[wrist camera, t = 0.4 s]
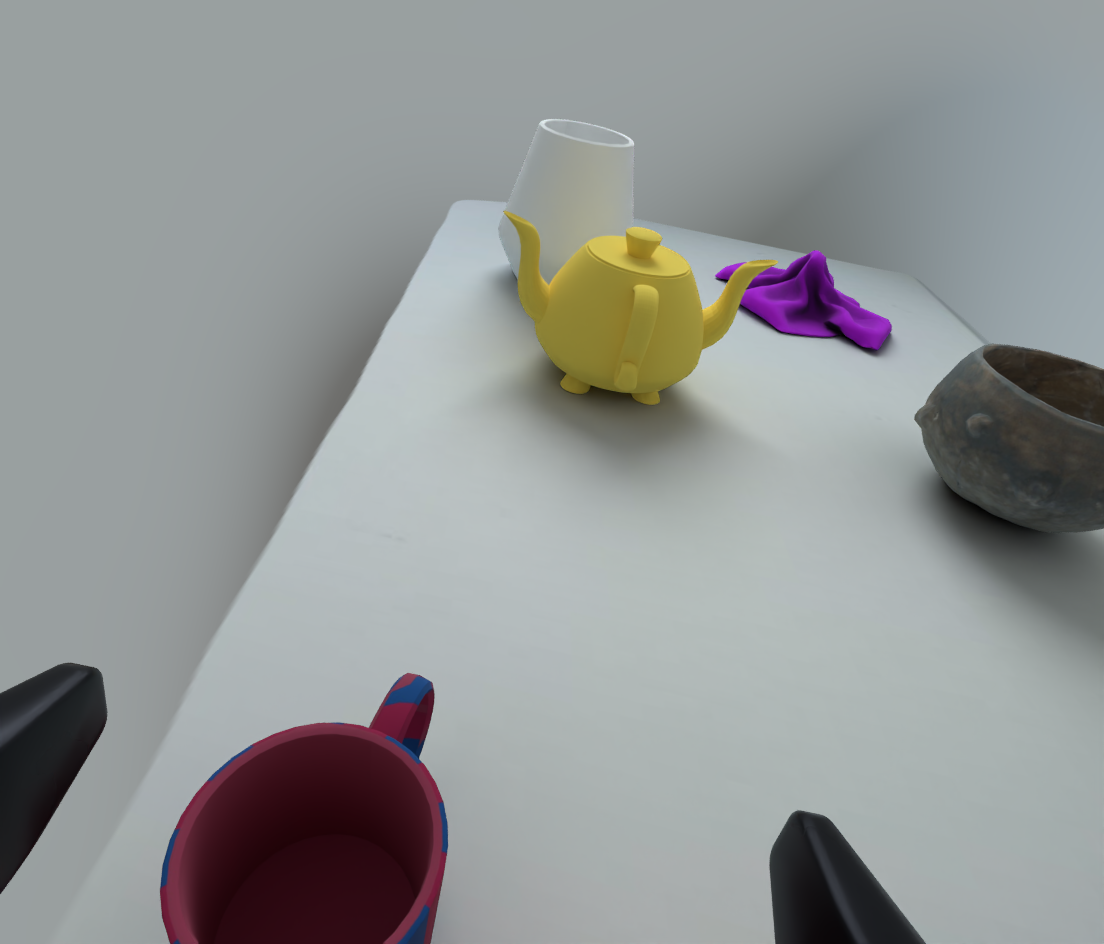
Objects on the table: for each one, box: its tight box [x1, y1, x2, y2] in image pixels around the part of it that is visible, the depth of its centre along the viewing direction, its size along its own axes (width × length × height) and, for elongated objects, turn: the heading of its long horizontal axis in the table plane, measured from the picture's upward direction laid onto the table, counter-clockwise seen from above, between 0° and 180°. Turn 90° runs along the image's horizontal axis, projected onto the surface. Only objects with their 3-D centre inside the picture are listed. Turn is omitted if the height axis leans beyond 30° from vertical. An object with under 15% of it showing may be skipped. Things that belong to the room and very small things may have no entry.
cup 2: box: [499, 119, 634, 285], centre depth 65 cm, size 13×13×14 cm
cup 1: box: [160, 673, 448, 944], centre depth 20 cm, size 7×10×7 cm
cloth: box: [715, 250, 892, 350], centre depth 75 cm, size 22×19×6 cm
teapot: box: [503, 211, 778, 405], centre depth 50 cm, size 20×15×12 cm
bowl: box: [914, 344, 1104, 533], centre depth 47 cm, size 14×15×10 cm
